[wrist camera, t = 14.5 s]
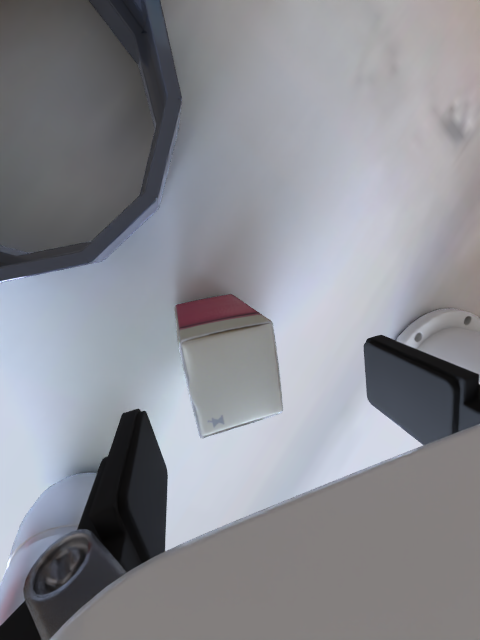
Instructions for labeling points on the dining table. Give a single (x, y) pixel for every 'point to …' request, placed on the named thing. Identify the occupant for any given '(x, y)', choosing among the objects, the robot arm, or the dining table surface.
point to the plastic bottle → (42, 533)
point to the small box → (228, 363)
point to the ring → (165, 107)
